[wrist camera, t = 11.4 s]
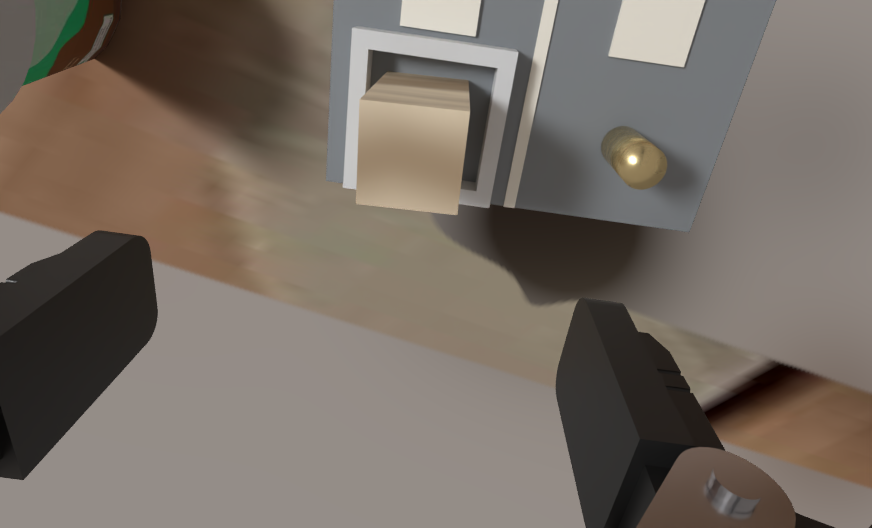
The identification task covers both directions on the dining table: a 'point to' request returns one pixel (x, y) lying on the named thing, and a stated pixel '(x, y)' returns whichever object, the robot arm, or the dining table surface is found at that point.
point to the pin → (633, 157)
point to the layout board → (559, 92)
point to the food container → (50, 38)
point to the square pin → (412, 142)
